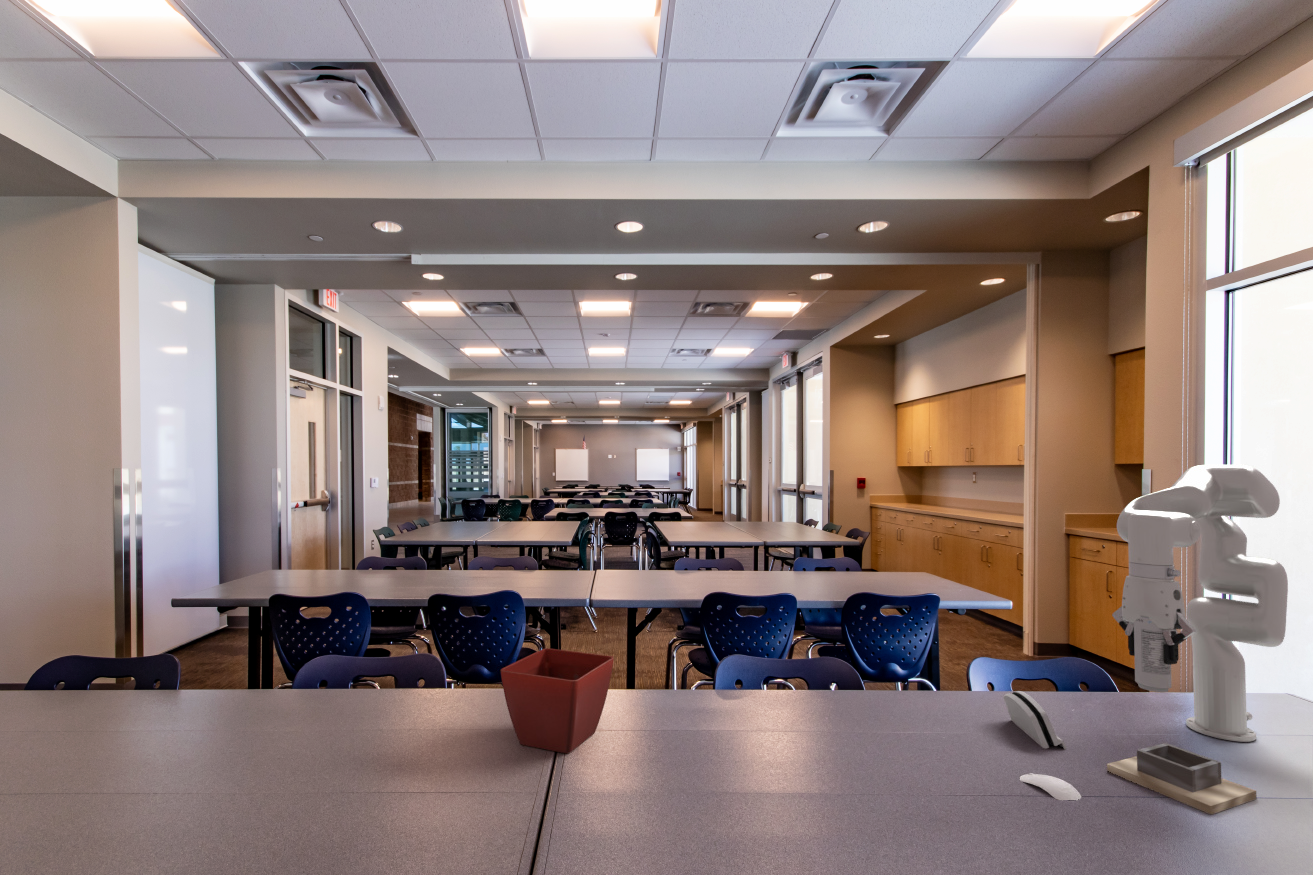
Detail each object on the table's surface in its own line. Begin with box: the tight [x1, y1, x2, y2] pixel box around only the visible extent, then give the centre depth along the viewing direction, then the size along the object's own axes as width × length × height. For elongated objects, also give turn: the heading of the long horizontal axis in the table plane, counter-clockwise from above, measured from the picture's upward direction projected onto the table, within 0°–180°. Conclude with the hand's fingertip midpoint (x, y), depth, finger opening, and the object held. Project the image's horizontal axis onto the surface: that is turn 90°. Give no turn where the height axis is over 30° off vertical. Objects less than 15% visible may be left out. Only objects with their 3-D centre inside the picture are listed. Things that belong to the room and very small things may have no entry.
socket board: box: [1106, 742, 1257, 816], centre depth 127 cm, size 15×18×6 cm
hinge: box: [1003, 690, 1067, 750], centre depth 152 cm, size 17×5×10 cm, turn 174°
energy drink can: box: [1134, 615, 1172, 693], centre depth 135 cm, size 6×6×15 cm
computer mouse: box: [1019, 772, 1082, 801], centre depth 126 cm, size 7×12×2 cm, turn 21°
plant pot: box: [500, 648, 614, 754], centre depth 145 cm, size 19×19×17 cm
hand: (1152, 658), depth 134 cm, fingers closed on energy drink can, 6 cm apart
